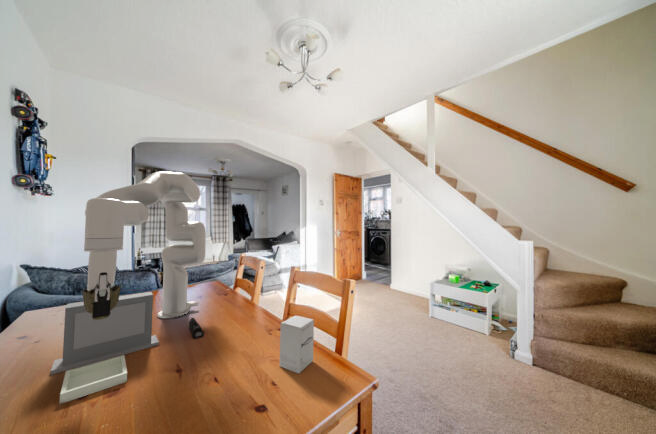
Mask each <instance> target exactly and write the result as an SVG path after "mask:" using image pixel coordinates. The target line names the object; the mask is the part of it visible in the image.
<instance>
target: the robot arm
mask: <svg viewBox="0 0 656 434" xmlns="http://www.w3.org/2000/svg"><path fill="white" fill-rule="evenodd" d="M200 197H201V191H200V188H199V185H198V184H197V183H196V182H195V181H194V180H193V179H192V178H191V177H190V176H189V175H187V174H186V173H183V172H177V171H176V172H173V171H156V172H153V173H151V174H149V175H148V176H147V177H145V178H144V179H142V180H141V181H139V182H138V183H134V184H131V185H127V186H123V187H120V188H114V189H112V190H109V191H106V192H103V193H101V194H100V195H98V196H96V197H94V198H90V199H88V200H87V202H86V205H85V211H84V216H85V223H84V224H85V225H84V226H85V227H84V247H83V252H85V253H86V252H89V255H88V265H87V266H88V267H87V285H86V287H87V290H88V291H91V290H94V288H95V302H93V318H98V317H104V316H109V315H110V304H111V299H110V289H111V288H112V287H114V286H115V279H116V271H117V259H118V258H117V257H118V251H123V249H124V232H125V231H124V230H125V227H134V226H136V227H137V226H140V225H142V224H144V223H146V221H147V220H148V219H149V218H150V217H149V216H150V212H149V209H148V207H150V206H153V205H156V204H158V203H159V202H160V203H161V205H163V207H164V210H165V237H166V239H167V240H168V241H170V242H175V244H170V245H167V246H165V247H164V248H163V249H162V251H161V263H162V268H163V271H162V272H163V274H162V277H163V278H162V280H163V281H162V300H161V301H162V303H161V304H162V306H161V310H160V311H159V312H157V317H158V318H160V319H166V320H167V319H174V318H175V317H176V318H180V317H183V316H185V315H184V314H186V315H188V314H189V313H190V312H191V309H192V307H197V306H199V302H198V301H188V283H189V282H188V281H189V279H188V278H189V274H188V271H187V269H186V267H184V266H196V265H197V266H198V265H201V264H203V263H204V262H205V259H206V237H207V236H206V227H205V225H204V223H202V222H201V221H195V220H192V221H189V213H188V211H189V210H188V208H187V207H186V205H185V204H184V203H189V204H190V203H192V204H193V203H196V202H198V201H199V199H200ZM176 242H177V243H178V242H179V244H176ZM180 242H182V243H183V242H187V244H185V243H184V244H180ZM189 242H191V243H192V244H191V243H190V244H188V243H189ZM106 286H107V288H106ZM98 287H100V288H99V289H98ZM97 300H98V301H97ZM189 311H190V312H189ZM188 312H189V313H188ZM187 313H188V314H187ZM182 315H183V316H182ZM179 316H180V317H179Z"/></svg>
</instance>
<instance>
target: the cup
mask: <svg viewBox="0 0 656 434" xmlns="http://www.w3.org/2000/svg"><path fill="white" fill-rule="evenodd" d="M99 288H100V287H98V289H99ZM106 288H107V286H106ZM121 289H122V285H120V284H118V285H117V284H114V285H113V287H112V288H111V289H110V299H111V304H110V311H111V310H112V309H114V308H115V307H116V305H117V303H118V300H119V296H121V295H120V293H121ZM82 300H83V301H82V302H84V307H85V310H86V311H87V312H88V313H91V314H92V316H91V317H92V319H94V320H100V319H104V318H107V317H109V316H110V315H109V316H104V317H98V318H93V302H95V288H94V289H92V290H91V291H88V290H87V288H86V289H82ZM97 301H98V300H97ZM110 314H111V312H110Z"/></svg>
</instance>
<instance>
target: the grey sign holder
mask: <svg viewBox="0 0 656 434" xmlns="http://www.w3.org/2000/svg"><path fill="white" fill-rule="evenodd" d="M153 302H154V294H153V293H152V291H145V292H139V293H133V294H126V295H119V300H118V303H117V305H116V307H115V308H114V309H112V310H111V311H110V312H111V314H110V316H109V317H107V318H104V319H100V320H94V319H92V317H91V316H92V314H91V313H88V312H87V311H86V310H85V307H84V302H83V301H79V302H78V301H77V302H71V303H67V304H66V306H65V307H64V308H65V310H64V311H65V312H64V324H63V325H64V328H63V346H62V347H63V348H62V357H61V358H58V359H54V361H53V363H52V366H51V368H50V375H54V374H59V373H62V372H66V371H68V370H72V369H76V368H79V367H83V366H86V365H90V364H94V363H97V362H101V361H104V360H108V359H112V358H115V357H119V356H122V355H127V354H131V353H135V352H138V351H142V350H145V349H149V348H152V347H156V346H159V345H160V341H159V339H158V337H157V335H156V334H153V335H152V332H153V331H152V329H153V328H152V327H153V307H154V303H153Z"/></svg>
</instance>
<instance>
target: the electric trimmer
mask: <svg viewBox="0 0 656 434" xmlns="http://www.w3.org/2000/svg"><path fill="white" fill-rule="evenodd" d="M188 326H189V327H188V328H189V331H191V332H192V335H191V336H192V339H194V340H196V339H200V338H203V337H204V336H205V332H204V329H203V328H202V327H201V325H200V324H199V323H198V322H197V319H196V318H194V317H191V318H190V319H189V322H188Z"/></svg>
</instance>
